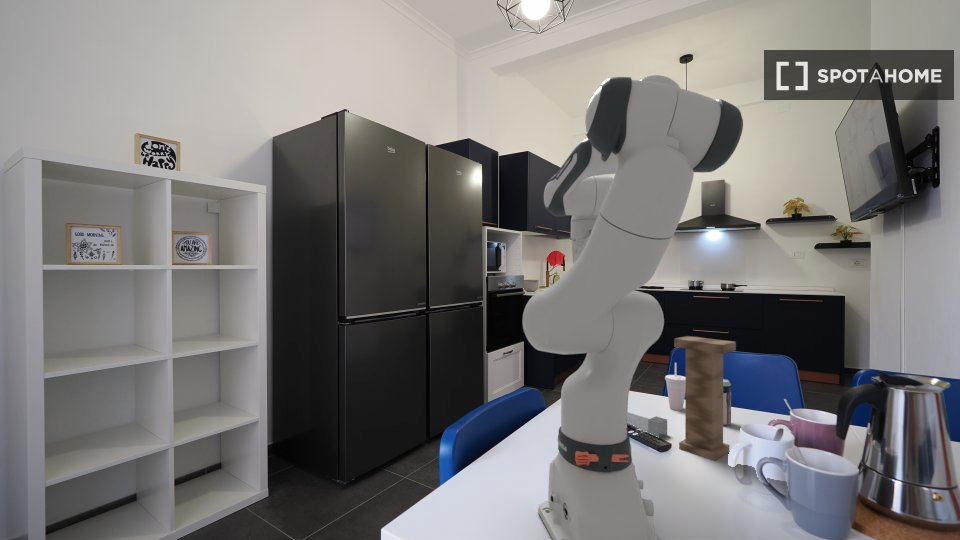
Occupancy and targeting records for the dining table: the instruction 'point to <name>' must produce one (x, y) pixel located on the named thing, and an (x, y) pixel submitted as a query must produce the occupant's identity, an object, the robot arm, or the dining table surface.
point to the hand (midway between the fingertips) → (587, 284)
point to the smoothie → (676, 390)
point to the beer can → (726, 402)
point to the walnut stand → (704, 395)
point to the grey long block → (649, 424)
